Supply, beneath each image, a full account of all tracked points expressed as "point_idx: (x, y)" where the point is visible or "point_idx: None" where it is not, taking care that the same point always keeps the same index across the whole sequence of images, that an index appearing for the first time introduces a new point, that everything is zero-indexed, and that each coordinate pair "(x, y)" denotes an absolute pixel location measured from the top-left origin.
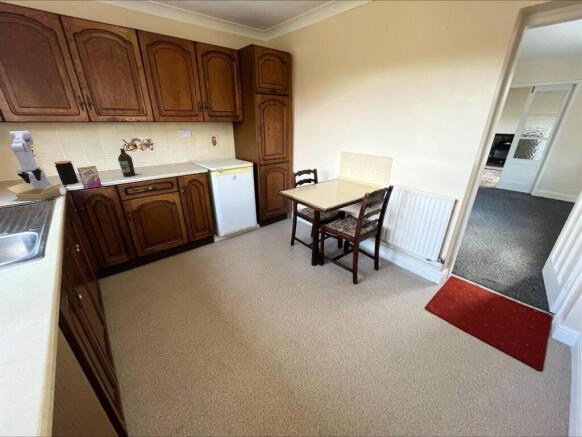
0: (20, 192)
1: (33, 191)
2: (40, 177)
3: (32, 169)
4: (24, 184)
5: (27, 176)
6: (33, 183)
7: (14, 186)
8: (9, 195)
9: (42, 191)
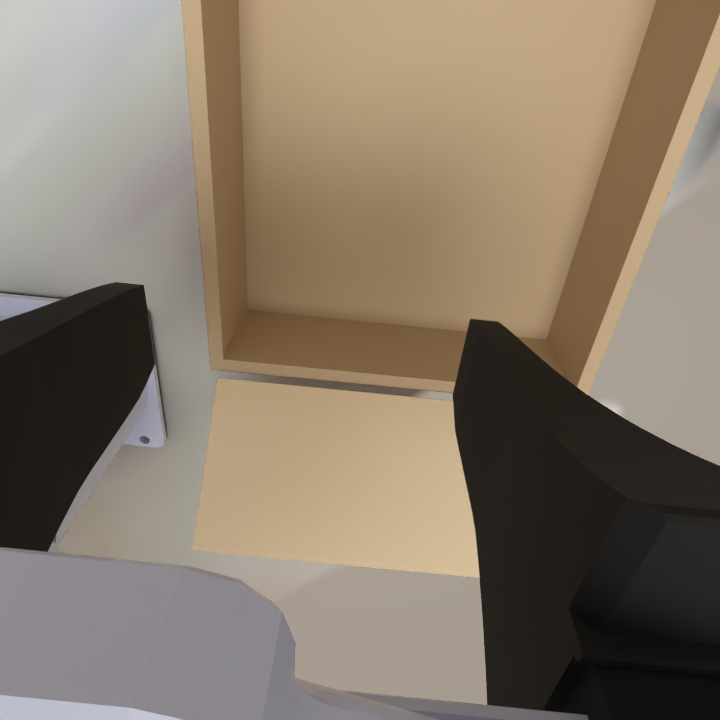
0: None
1: (288, 348)
2: (53, 309)
3: (289, 666)
4: (261, 522)
5: (626, 438)
6: (79, 494)
7: (440, 556)
8: (256, 582)
9: (231, 240)
